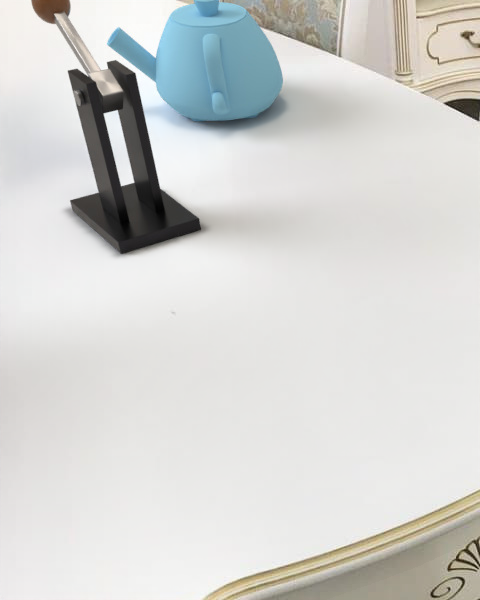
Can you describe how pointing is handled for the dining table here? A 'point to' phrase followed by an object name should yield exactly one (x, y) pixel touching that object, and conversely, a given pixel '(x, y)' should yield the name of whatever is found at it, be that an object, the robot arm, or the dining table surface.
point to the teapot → (209, 62)
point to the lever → (81, 52)
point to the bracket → (111, 195)
